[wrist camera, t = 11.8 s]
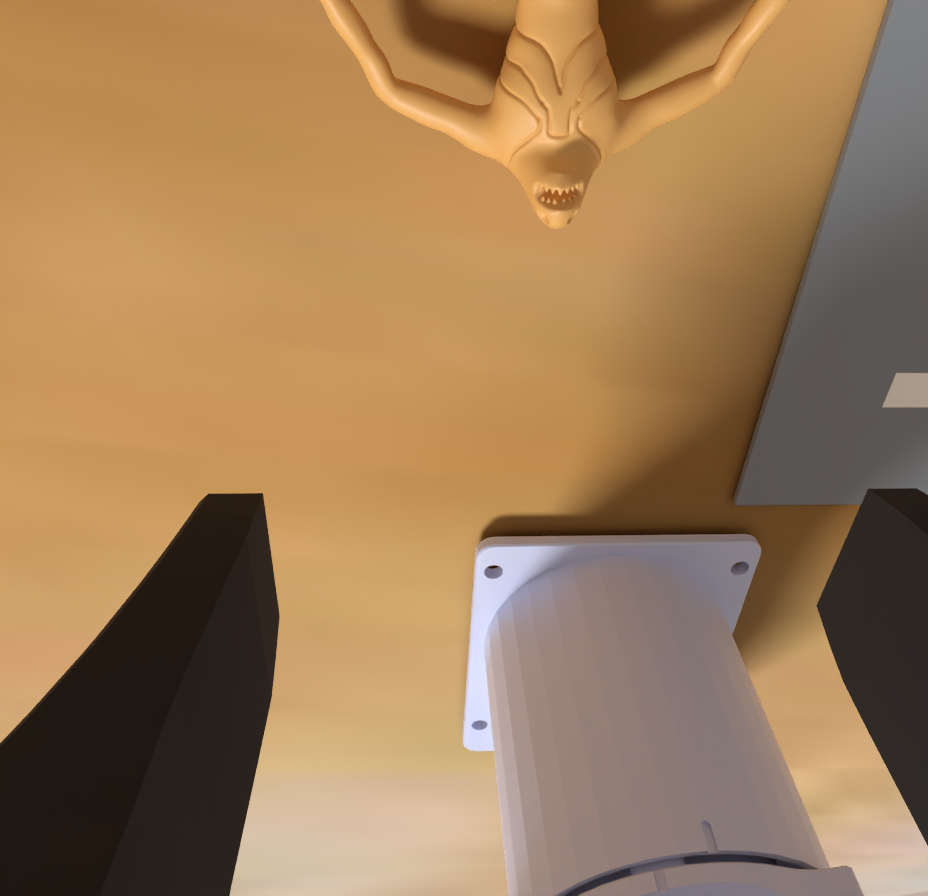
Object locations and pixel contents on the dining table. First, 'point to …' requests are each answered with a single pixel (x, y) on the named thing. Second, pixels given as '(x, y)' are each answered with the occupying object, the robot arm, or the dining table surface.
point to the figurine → (552, 96)
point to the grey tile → (859, 305)
